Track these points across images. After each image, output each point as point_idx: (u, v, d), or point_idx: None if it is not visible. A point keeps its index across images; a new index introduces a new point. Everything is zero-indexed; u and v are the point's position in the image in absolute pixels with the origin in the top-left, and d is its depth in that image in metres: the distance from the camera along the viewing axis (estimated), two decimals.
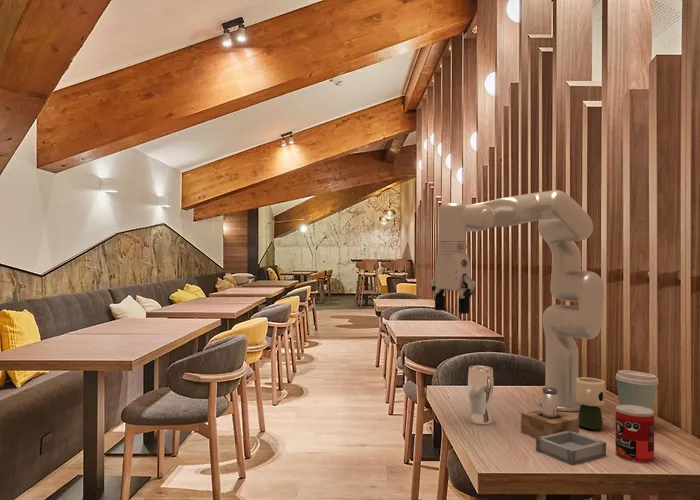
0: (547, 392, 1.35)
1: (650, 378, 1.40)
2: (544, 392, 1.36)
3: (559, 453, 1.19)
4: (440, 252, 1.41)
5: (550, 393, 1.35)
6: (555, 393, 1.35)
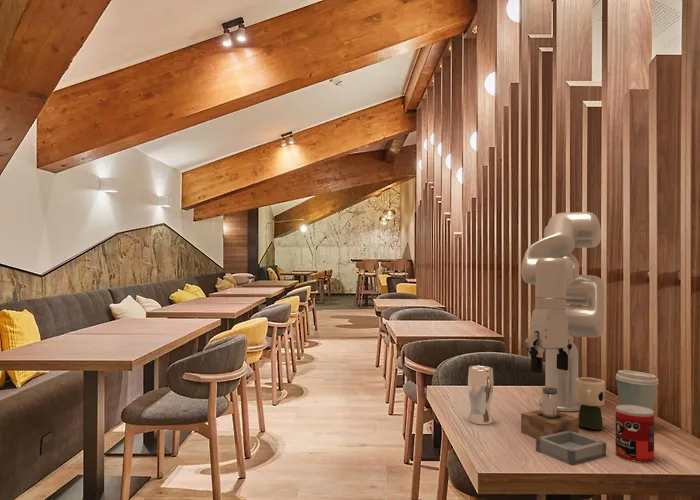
0: (547, 392, 1.35)
1: (650, 378, 1.40)
2: (544, 392, 1.36)
3: (559, 453, 1.19)
4: (561, 310, 1.33)
5: (550, 393, 1.35)
6: (555, 393, 1.35)
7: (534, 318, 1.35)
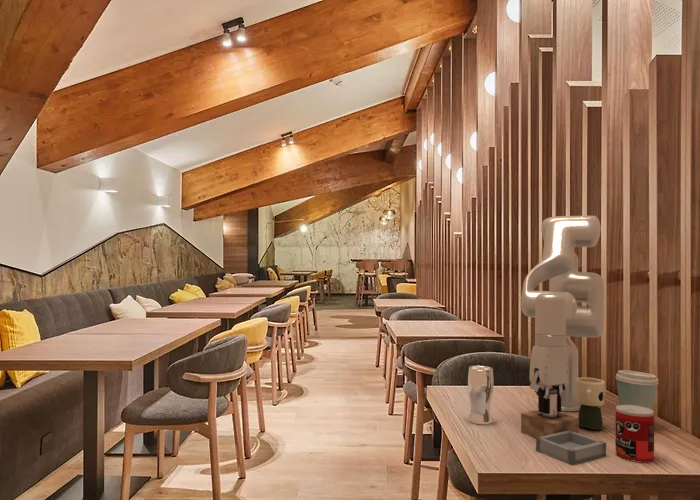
0: None
1: (650, 378, 1.40)
2: None
3: (559, 453, 1.19)
4: (560, 347, 1.33)
5: (550, 393, 1.35)
6: (555, 393, 1.35)
7: (534, 355, 1.35)
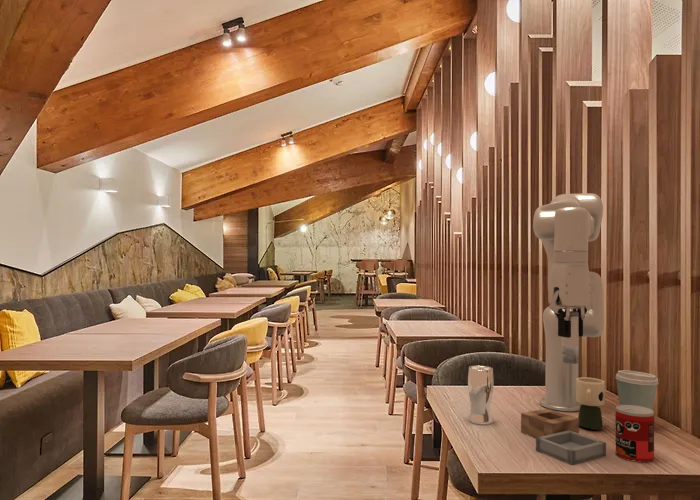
0: None
1: (650, 378, 1.40)
2: None
3: (559, 453, 1.19)
4: (583, 263, 1.21)
5: (571, 315, 1.23)
6: (576, 315, 1.23)
7: (553, 273, 1.23)
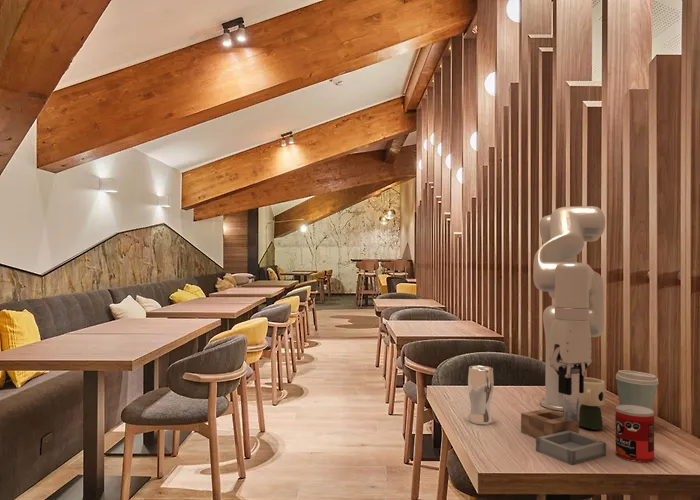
0: None
1: (650, 378, 1.40)
2: None
3: (559, 453, 1.19)
4: (583, 321, 1.21)
5: (572, 372, 1.22)
6: (577, 372, 1.22)
7: (554, 330, 1.23)
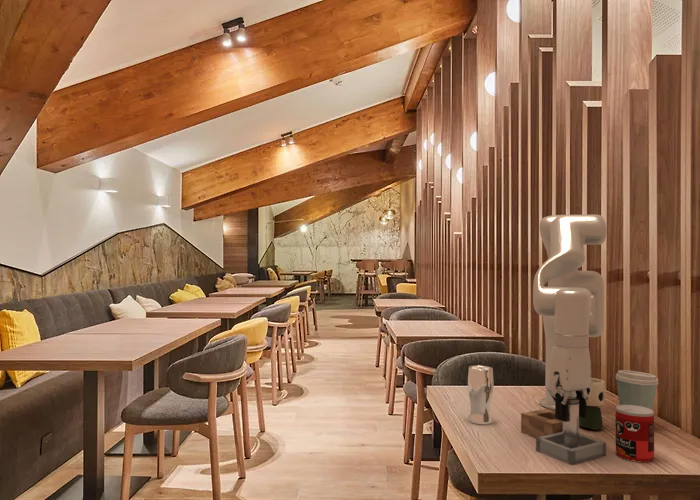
0: (568, 402, 1.22)
1: (650, 378, 1.40)
2: None
3: (559, 453, 1.19)
4: (583, 348, 1.21)
5: (571, 403, 1.22)
6: (577, 403, 1.22)
7: (554, 357, 1.22)
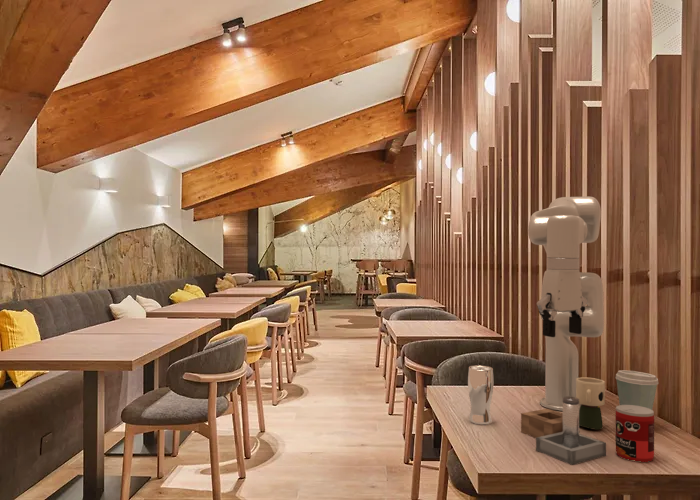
0: (568, 402, 1.23)
1: (650, 378, 1.40)
2: (565, 402, 1.23)
3: (559, 453, 1.19)
4: (574, 270, 1.26)
5: (571, 403, 1.22)
6: (577, 403, 1.22)
7: (546, 279, 1.27)
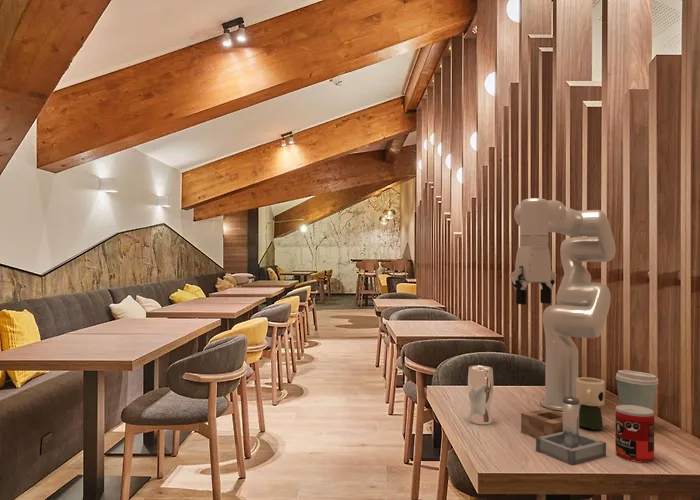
0: (568, 402, 1.22)
1: (650, 378, 1.40)
2: (565, 402, 1.23)
3: (559, 453, 1.19)
4: (543, 246, 1.43)
5: (571, 403, 1.22)
6: (577, 403, 1.22)
7: (519, 254, 1.45)
